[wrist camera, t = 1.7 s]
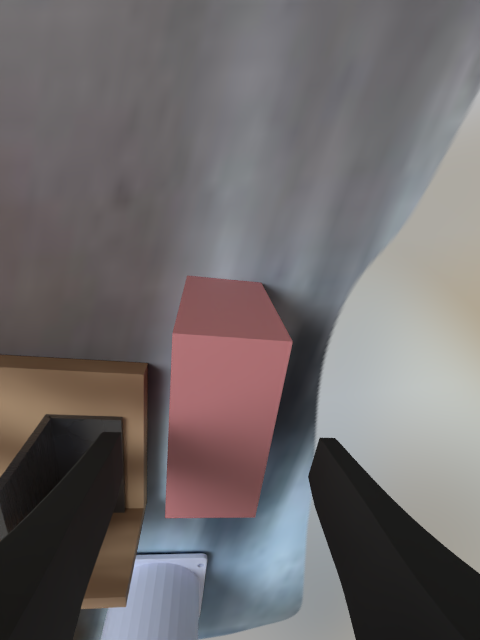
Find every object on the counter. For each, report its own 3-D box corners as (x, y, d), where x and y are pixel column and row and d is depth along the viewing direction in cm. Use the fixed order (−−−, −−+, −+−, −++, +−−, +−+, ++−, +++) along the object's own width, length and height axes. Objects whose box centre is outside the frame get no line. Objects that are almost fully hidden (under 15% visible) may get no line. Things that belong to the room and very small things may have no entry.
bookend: (125, 508, 21) (102, 598, 16) (60, 508, 20) (18, 601, 16) (122, 416, 18) (92, 495, 13) (45, 414, 17) (-14, 495, 13)
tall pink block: (240, 412, 20) (254, 517, 14) (179, 410, 20) (165, 518, 13) (261, 282, 17) (292, 341, 10) (187, 275, 16) (172, 333, 10)
